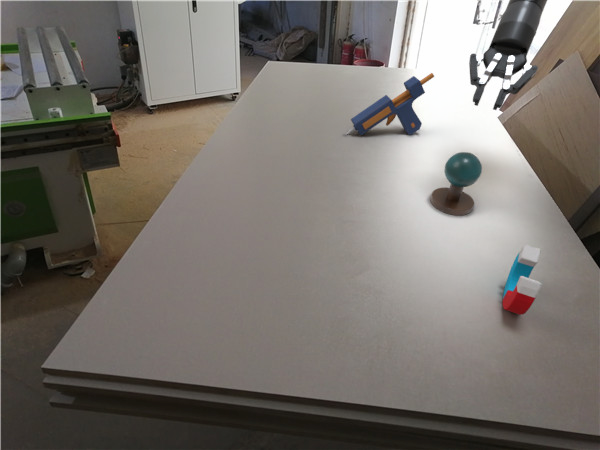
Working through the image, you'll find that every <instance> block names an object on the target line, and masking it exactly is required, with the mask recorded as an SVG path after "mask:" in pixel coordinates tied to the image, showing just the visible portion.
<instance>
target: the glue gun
mask: <svg viewBox="0 0 600 450" xmlns="http://www.w3.org/2000/svg"><path fill="white" fill-rule="evenodd" d="M433 78H435V75H434V73H433V72H430V73H429V74H428V75H427V76H425V77H423V78H422V79H419V78H417V77H416V76H415V75H413V76H411V77H410V78H408V79H407V80H406V81H404V82H403V86H404V87H405V89H406V90H404V91H403V92H402V93H401V94H399V95H397V96H396V97H394V98H393V99H391V98H390V96H388V95H387V94H385V95H383V96H382V97H381V98H380V99H377V101H375V102H374V103H372V104H371V105H369V106H368V107H366V108H365V109H363V110H362V111H360V112H359V113H357V114H356V115H355V116H352V117H351V119H350V121H351V123H352V127H351V128H350V129H349V130H348V131H347V132H346V133H345V135H349V134H350V133H353V132H355V131H356V132H358V134H359V135H360V136H362V135H364V134H366V133H367V132H368V131H370V130H371V129H373V128H374V127H376V126H377V125H379V124H381V123H382V122H383V121H386V123H385V125H386V126H387V127H388V126H389V125H390V124H391V123H392V122H393V121H394V120H395V118H396V117H397V119H398V121H399V123H400V125H401V126H402V129H403V130H404V131H405V132H406V133H407V134H408V135H409V136H412V135H413V134H415V133H416V132H418V131H420V130H421V127H422V124H423V123H422V121H421V120H420V118H419V117H418V116H419V115H417V113H416V111H415V110H414V108H413V103H414V102H415V101H416V100H417V99H419V97H421V96H422V95H424V94H425V93H426V91H425V88H424V87H423V85H424V84H426V83H427V82H429V81H431V80H432V79H433Z"/></svg>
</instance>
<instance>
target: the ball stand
mask: <svg viewBox="0 0 600 450" xmlns="http://www.w3.org/2000/svg"><path fill="white" fill-rule="evenodd" d="M443 171H444V176H445V178H446V180H447V182H449V183H450V185H449V187H445V186H444V187H438V188H436V189H434V190H433V191H432V193H431V195H430V198H429V199H430V203H431V205H432V206H433V207H434V208H435V209H436V210H438V211H440V212H441V213H444V214H447V215H451V216H466V215H468V214H470V213H472V211H473V208H474V207H475V200H474V198H473V197H472V196H471V195H469V193H467V192H465V191H463V190H464V188H467V187H470V186H472V185H474V184H475V183H476V182H477V181H478V180H479V179H480V178H481V175H482V171H483V166H482V162H481V160H480V159H479V157H477V156H476V155H475V154H473V153H472V152H467V151H461V152H457V153H455V154H453V155H451V156H450V157H449V158H448V160H446V162H445V165H444V170H443Z"/></svg>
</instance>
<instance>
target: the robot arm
mask: <svg viewBox="0 0 600 450" xmlns="http://www.w3.org/2000/svg"><path fill="white" fill-rule="evenodd" d="M547 2H548V0H509V1H508V3H507V6H506V8H505V10H504V12H503V13H502V15H501V17H500V20H499V22H498V24H497V27H496V30H495V32H494V35H493V37H492V40H491V41H490V44H489V47H488V48H487V50H486V51H484V53H483V54H479V55H477V54H476V53H471V54H470V56H469V62H468V64H469V67H468V68H469V80H470V82H469V83H470V85H471V86H475V87H476V89H475V91H474V93H473V95H472V103H473V105H474V106H475V107H478V106H479V104H480V101H481V99H482V96H483V94H484V92H485V87H486V86H487V85H488V83H489V82H490V81H491V80H492V77H493V78H496V77H497V78H500V79H502V82H501V83H502V85H501V88H500V89H499V92H498V95H497V97H496V99H495V102H494V104H493V108H492V110H493V111H497V110H498V109H501V108H502V107H503V104H504V102H505V99H506V97H507V95H509V94H511V95H517V94H518V93H519V92H520V91H521V90H522V89H523V88H524V86H526V85H527V84H528V83H529V81H531V80H532V79H533V78H534V77H535V76H536V74H537V71H538V67H539V66H538V65H535V64H533V65H531V64H529V63H528V58H527V56H528V54H529V51H530V48H531V46H532V44H533V40H534V38H535V36H536V34H537V31H538V28H539V25H540V22H541V18H542V15H543V12H544V10H545V7H546V4H547ZM482 62H483V65H484V68H485V71H484V73H483V74H482V75H481V77H479V74H478V73H479V72H478V67H480V65H481V63H482ZM521 70H523V71H522V74H521V76H520V78H519V79H518V80H516V81H515V83H513V84H511V80H512V76H514V75H515V74H517V73H518V72H520V71H521Z"/></svg>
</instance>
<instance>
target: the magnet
mask: <svg viewBox="0 0 600 450" xmlns="http://www.w3.org/2000/svg"><path fill="white" fill-rule="evenodd" d="M541 251H542V250H541V248H539V247H535V246H531V245H528V244H524V245H523V246H522V247H521V249H520V250H519V251H518V253H517V255H516V257H515V259H514V260H513V263H512V265H511V267H510V270H509V273H508V276H507V278H506V282H505V286H504V289H503V294H502V308H503V309H504V310H505V311H508V312H510V313H514V314H516V315H524V314H526V313H527V312H528V311H529V310H530V308H531V307H532V305H533V303H534V302H535V301H536V298H537V296H538V294H539V292H540V290H541V287H542V283H541V282H540V281H538V280H537V279H533V278H530V275H531V274H532V271H533V269H534V268H535V267H536V265H537V264H538V262H539V259H540V255H541Z"/></svg>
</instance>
